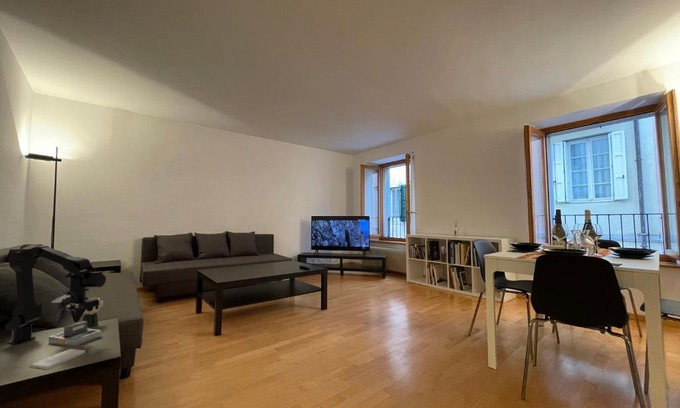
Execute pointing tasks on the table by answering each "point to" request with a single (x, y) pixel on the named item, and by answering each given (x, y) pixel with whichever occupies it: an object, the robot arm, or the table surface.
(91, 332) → the rack
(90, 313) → the toy figurine
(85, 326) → the dark grey block
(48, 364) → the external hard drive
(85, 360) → the table surface
